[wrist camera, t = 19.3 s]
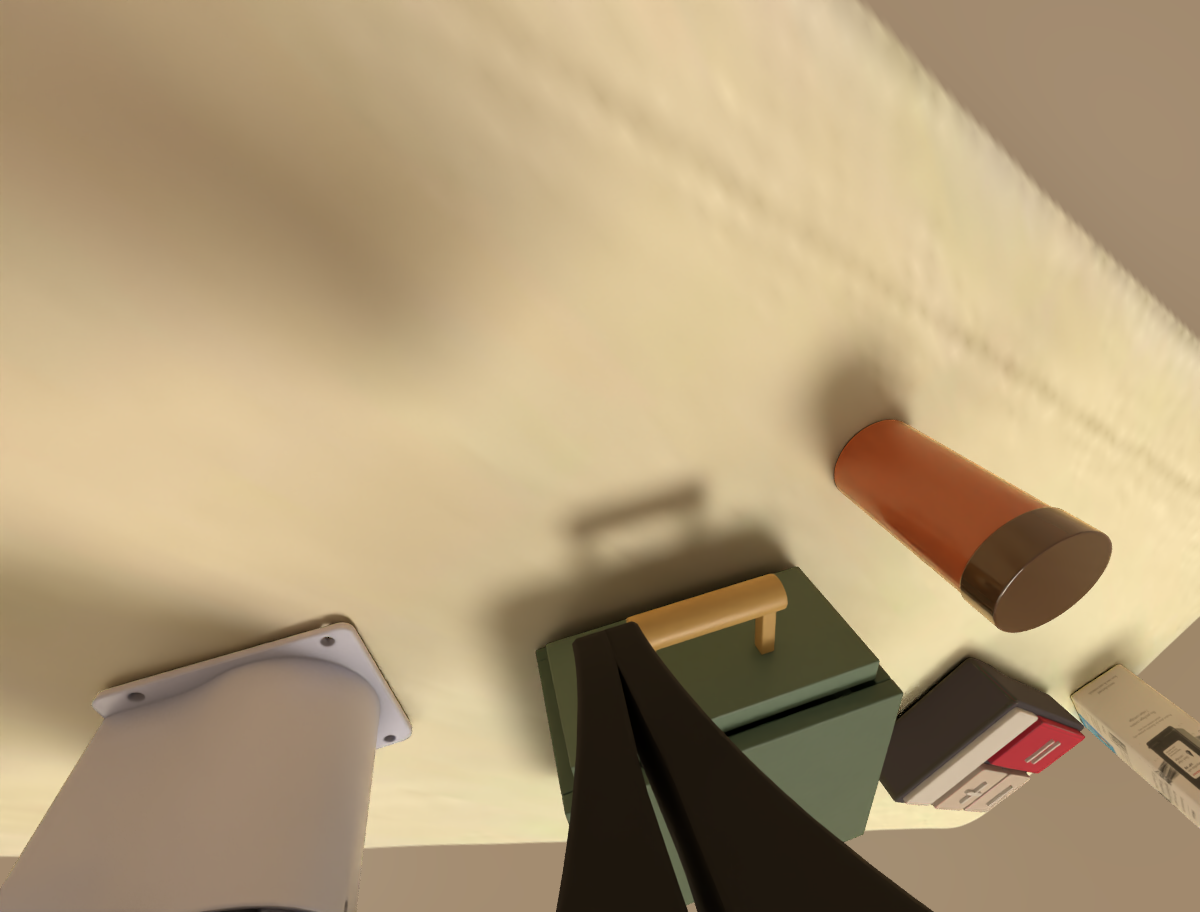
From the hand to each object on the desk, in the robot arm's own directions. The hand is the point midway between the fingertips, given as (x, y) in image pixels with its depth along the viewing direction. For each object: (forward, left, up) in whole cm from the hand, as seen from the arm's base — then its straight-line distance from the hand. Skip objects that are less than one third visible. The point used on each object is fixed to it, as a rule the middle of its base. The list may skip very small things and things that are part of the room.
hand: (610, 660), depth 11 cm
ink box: (+43, -39, -10) cm, 59 cm away
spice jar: (+15, -5, -10) cm, 19 cm away
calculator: (+27, -34, -10) cm, 44 cm away
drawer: (+4, -13, -9) cm, 17 cm away
